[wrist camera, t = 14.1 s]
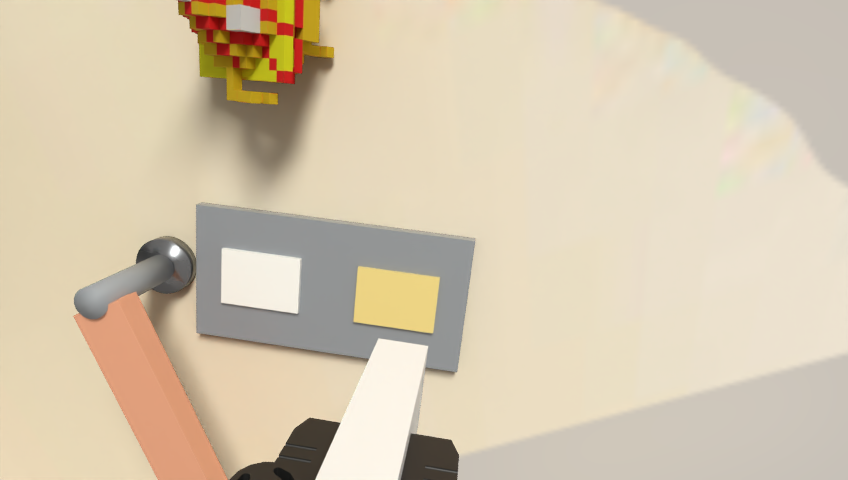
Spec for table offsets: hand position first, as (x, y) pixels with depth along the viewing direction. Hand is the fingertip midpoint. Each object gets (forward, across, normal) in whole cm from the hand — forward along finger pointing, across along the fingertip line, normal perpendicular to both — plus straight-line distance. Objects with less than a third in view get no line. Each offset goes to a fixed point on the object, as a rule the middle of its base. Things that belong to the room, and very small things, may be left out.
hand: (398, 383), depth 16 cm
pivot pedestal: (+29, -25, -9) cm, 39 cm away
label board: (+29, -10, -9) cm, 32 cm away
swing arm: (+28, -20, -19) cm, 39 cm away
